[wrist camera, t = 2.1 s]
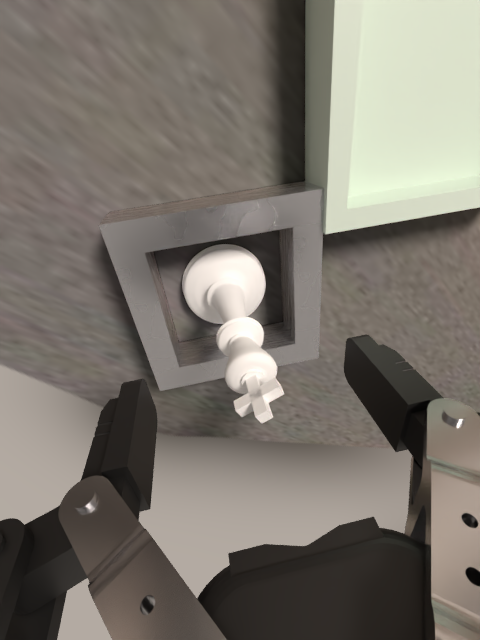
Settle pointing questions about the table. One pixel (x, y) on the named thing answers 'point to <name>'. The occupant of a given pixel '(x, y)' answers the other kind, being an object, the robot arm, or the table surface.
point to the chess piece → (235, 321)
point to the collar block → (210, 225)
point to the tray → (392, 108)
